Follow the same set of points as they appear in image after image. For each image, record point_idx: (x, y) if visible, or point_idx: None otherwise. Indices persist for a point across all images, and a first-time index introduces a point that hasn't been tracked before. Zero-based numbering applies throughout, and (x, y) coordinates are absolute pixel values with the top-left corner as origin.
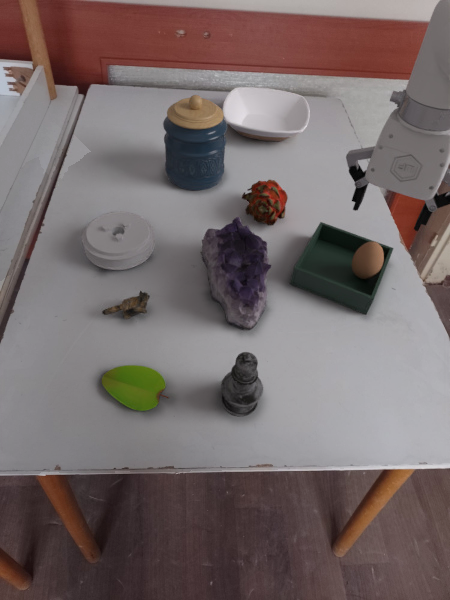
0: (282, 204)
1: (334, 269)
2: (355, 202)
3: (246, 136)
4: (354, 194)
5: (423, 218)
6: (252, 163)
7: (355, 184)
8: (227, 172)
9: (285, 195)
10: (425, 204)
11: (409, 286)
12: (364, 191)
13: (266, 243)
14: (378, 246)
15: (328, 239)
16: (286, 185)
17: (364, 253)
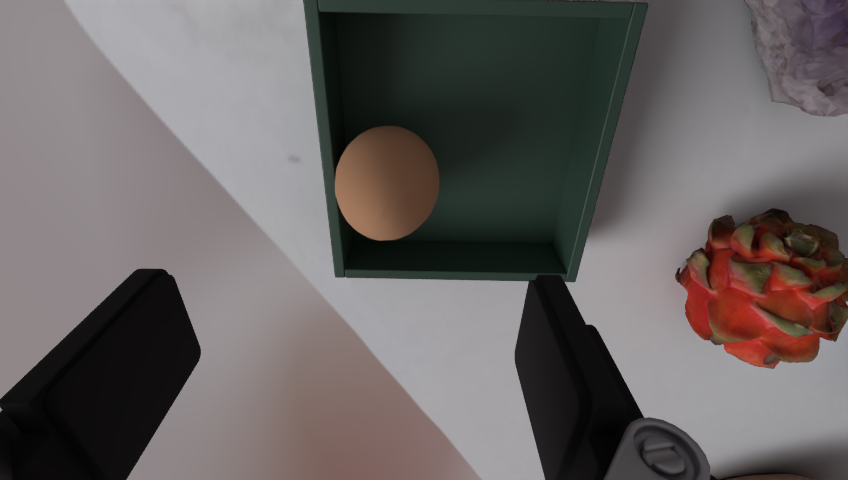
0: (724, 291)
1: (477, 142)
2: (576, 311)
3: (784, 475)
4: (608, 365)
5: (65, 341)
6: (762, 410)
7: (685, 442)
8: (837, 361)
9: (724, 327)
10: (86, 457)
11: (259, 191)
12: (558, 409)
13: (838, 21)
14: (363, 215)
15: (524, 247)
16: (663, 380)
17: (404, 171)
